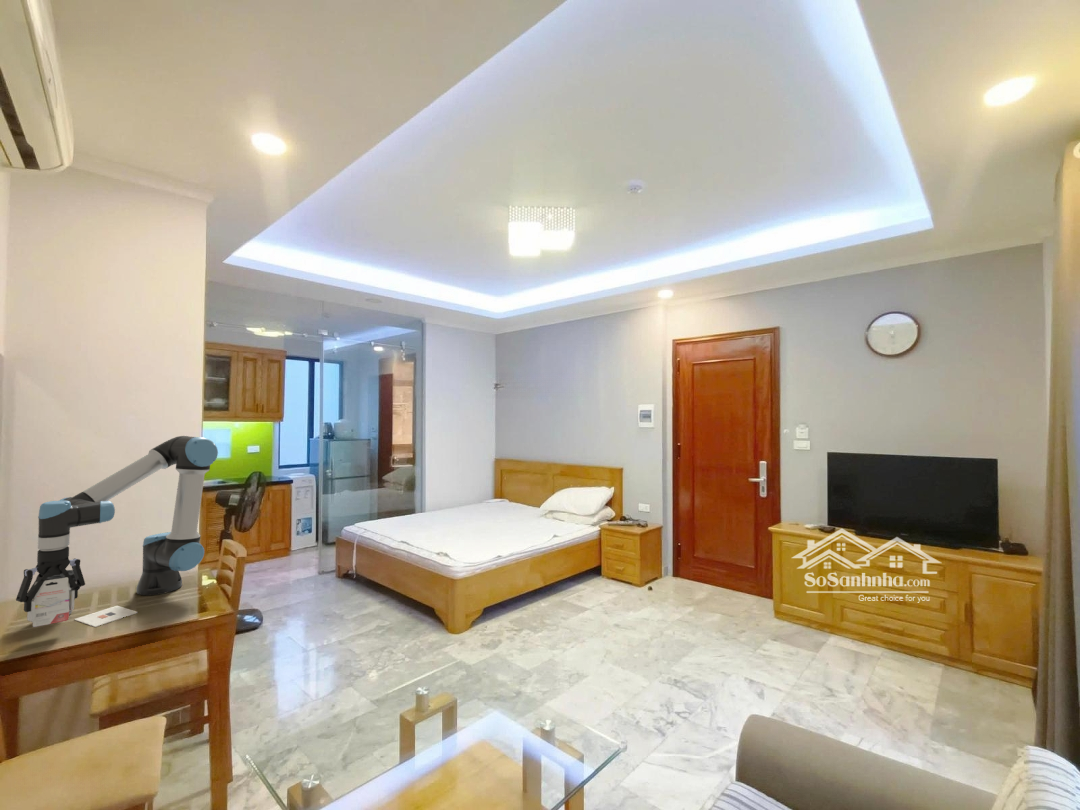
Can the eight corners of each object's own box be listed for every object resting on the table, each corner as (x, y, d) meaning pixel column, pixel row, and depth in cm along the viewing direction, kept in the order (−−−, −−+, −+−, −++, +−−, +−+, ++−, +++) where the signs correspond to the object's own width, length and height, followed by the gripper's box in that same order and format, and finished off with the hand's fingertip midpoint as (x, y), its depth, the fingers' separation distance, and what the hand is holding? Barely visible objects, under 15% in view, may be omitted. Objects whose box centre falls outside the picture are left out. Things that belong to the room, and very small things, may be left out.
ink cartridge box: (69, 615, 168) (70, 573, 168) (68, 620, 164) (69, 577, 164) (33, 622, 162) (35, 578, 162) (31, 627, 158) (33, 582, 158)
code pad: (117, 606, 187) (117, 605, 187) (137, 612, 182) (137, 611, 182) (74, 619, 175) (74, 618, 175) (95, 627, 170) (95, 626, 170)
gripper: (87, 538, 175) (85, 600, 175) (1, 555, 154) (-1, 625, 154) (100, 541, 172) (97, 604, 172) (14, 558, 151) (11, 630, 151)
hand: (51, 614), depth 163 cm, fingers closed on ink cartridge box, 9 cm apart
